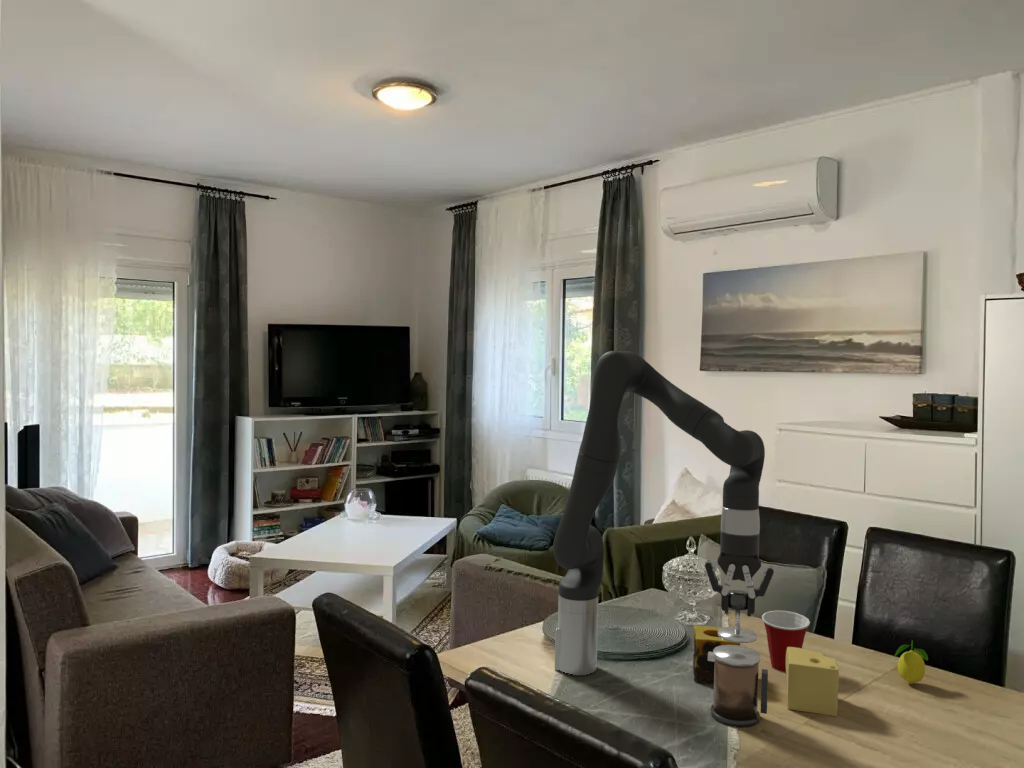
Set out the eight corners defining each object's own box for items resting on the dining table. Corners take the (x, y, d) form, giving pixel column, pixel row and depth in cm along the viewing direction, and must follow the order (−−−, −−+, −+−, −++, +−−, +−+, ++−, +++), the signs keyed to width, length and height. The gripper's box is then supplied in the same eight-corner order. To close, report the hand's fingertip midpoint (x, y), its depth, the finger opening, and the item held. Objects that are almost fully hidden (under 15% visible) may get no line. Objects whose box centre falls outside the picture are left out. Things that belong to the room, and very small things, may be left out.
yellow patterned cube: (740, 687, 174) (741, 643, 174) (693, 683, 176) (694, 639, 176) (736, 670, 184) (738, 628, 184) (692, 666, 186) (693, 624, 186)
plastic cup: (757, 671, 183) (759, 620, 183) (762, 656, 193) (763, 607, 193) (807, 680, 179) (809, 628, 179) (809, 663, 189) (811, 614, 188)
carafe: (704, 722, 157) (706, 657, 156) (708, 702, 166) (709, 641, 166) (766, 731, 153) (768, 665, 153) (766, 711, 162) (768, 648, 162)
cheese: (835, 697, 170) (837, 652, 170) (839, 719, 160) (840, 670, 159) (784, 690, 173) (786, 645, 173) (784, 710, 163) (786, 662, 163)
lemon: (893, 685, 177) (894, 641, 176) (894, 676, 182) (895, 634, 182) (927, 692, 174) (928, 647, 173) (927, 682, 179) (928, 639, 178)
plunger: (716, 640, 157) (717, 595, 156) (718, 628, 164) (720, 585, 164) (756, 645, 154) (757, 600, 154) (757, 632, 162) (758, 589, 161)
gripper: (702, 530, 157) (700, 615, 158) (777, 536, 153) (775, 624, 153) (705, 523, 164) (703, 605, 165) (776, 528, 160) (774, 612, 160)
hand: (738, 613), depth 159 cm, fingers closed on plunger, 3 cm apart
